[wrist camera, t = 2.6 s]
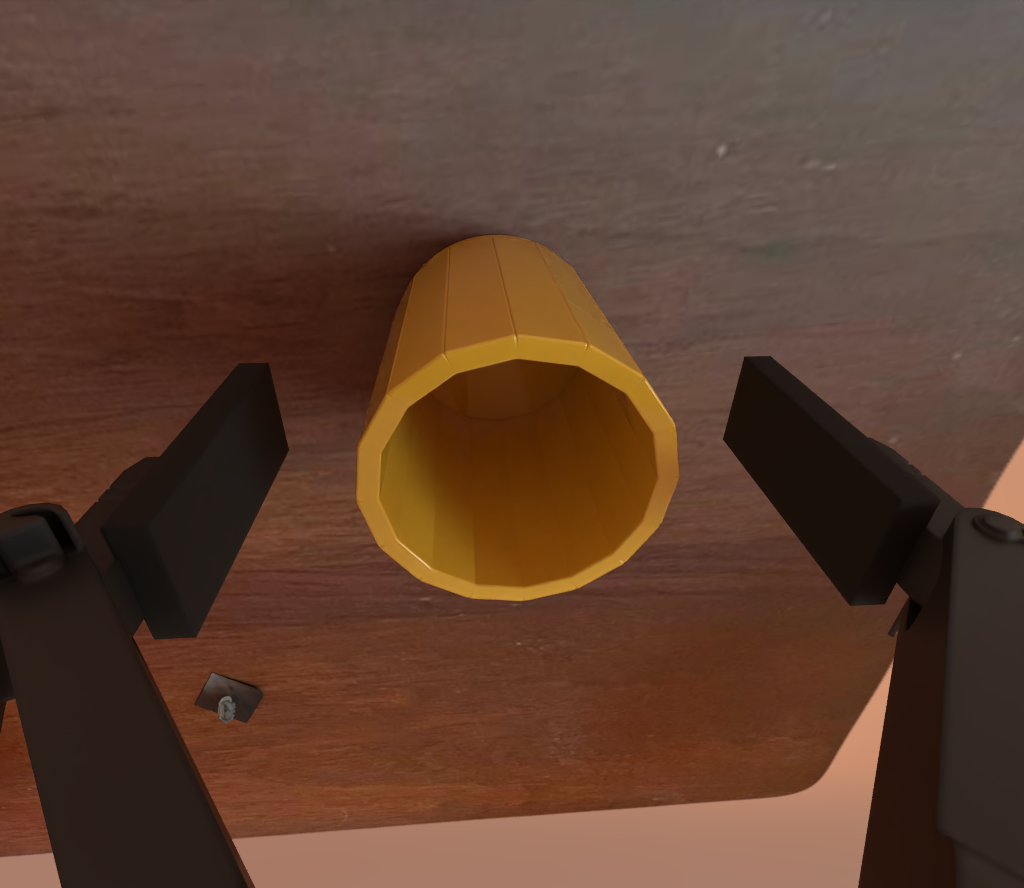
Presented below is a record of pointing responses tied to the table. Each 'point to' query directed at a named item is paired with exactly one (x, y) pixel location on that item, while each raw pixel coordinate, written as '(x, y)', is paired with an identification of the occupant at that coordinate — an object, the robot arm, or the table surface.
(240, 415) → the robot arm
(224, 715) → the dark square tile
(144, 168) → the table surface
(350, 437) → the table surface
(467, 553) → the cup
